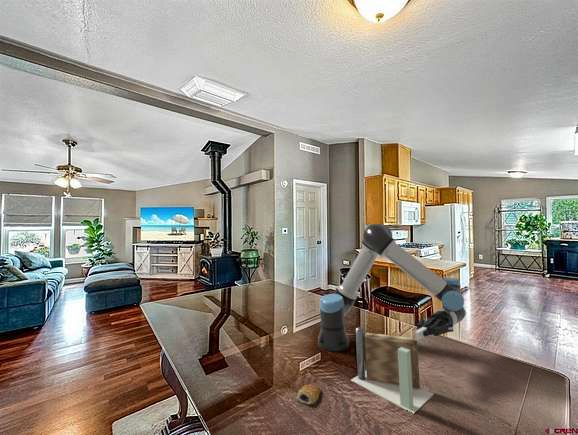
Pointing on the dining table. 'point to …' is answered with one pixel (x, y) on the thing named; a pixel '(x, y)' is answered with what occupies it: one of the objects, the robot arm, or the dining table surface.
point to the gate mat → (394, 392)
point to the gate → (389, 357)
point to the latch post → (405, 378)
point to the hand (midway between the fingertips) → (417, 335)
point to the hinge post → (360, 353)
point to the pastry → (309, 394)
